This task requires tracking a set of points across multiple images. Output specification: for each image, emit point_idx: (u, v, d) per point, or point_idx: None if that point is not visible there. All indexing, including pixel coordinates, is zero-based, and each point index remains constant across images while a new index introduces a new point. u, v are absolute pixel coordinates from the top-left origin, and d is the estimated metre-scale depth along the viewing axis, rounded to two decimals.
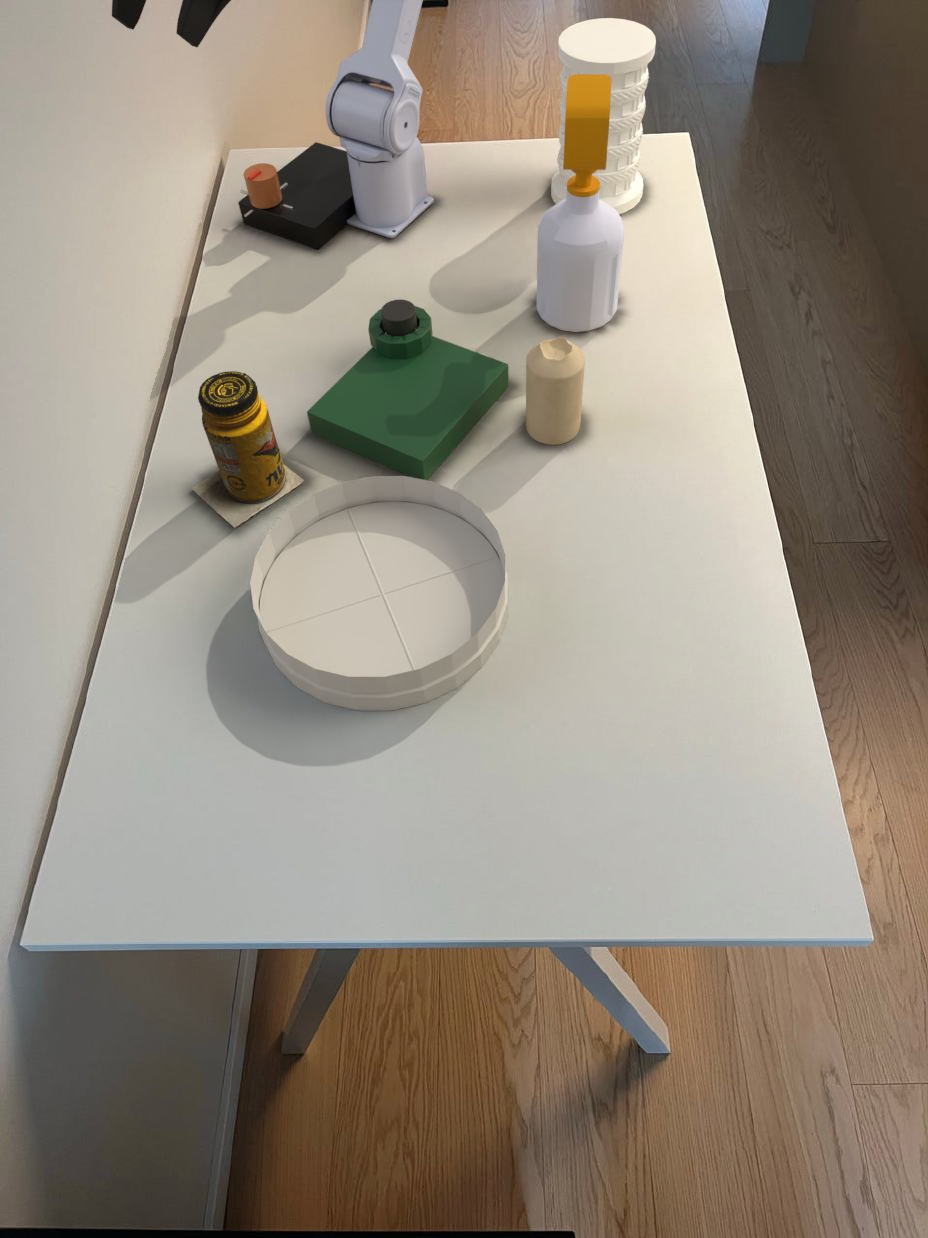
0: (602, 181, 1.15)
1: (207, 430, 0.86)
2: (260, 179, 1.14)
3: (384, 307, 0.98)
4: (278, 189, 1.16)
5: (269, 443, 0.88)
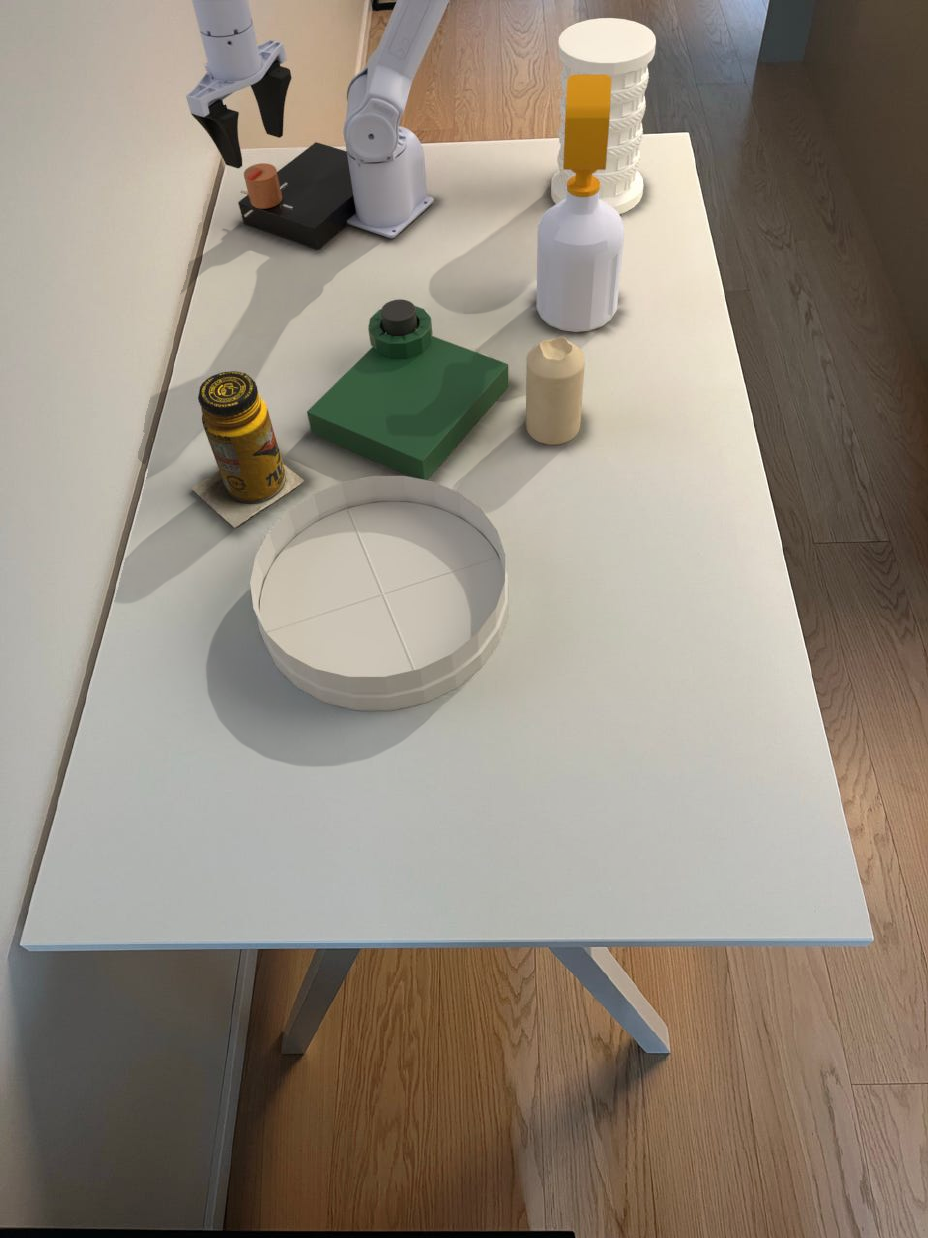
0: (602, 181, 1.15)
1: (207, 430, 0.86)
2: (260, 179, 1.14)
3: (384, 307, 0.98)
4: (278, 189, 1.16)
5: (269, 443, 0.88)
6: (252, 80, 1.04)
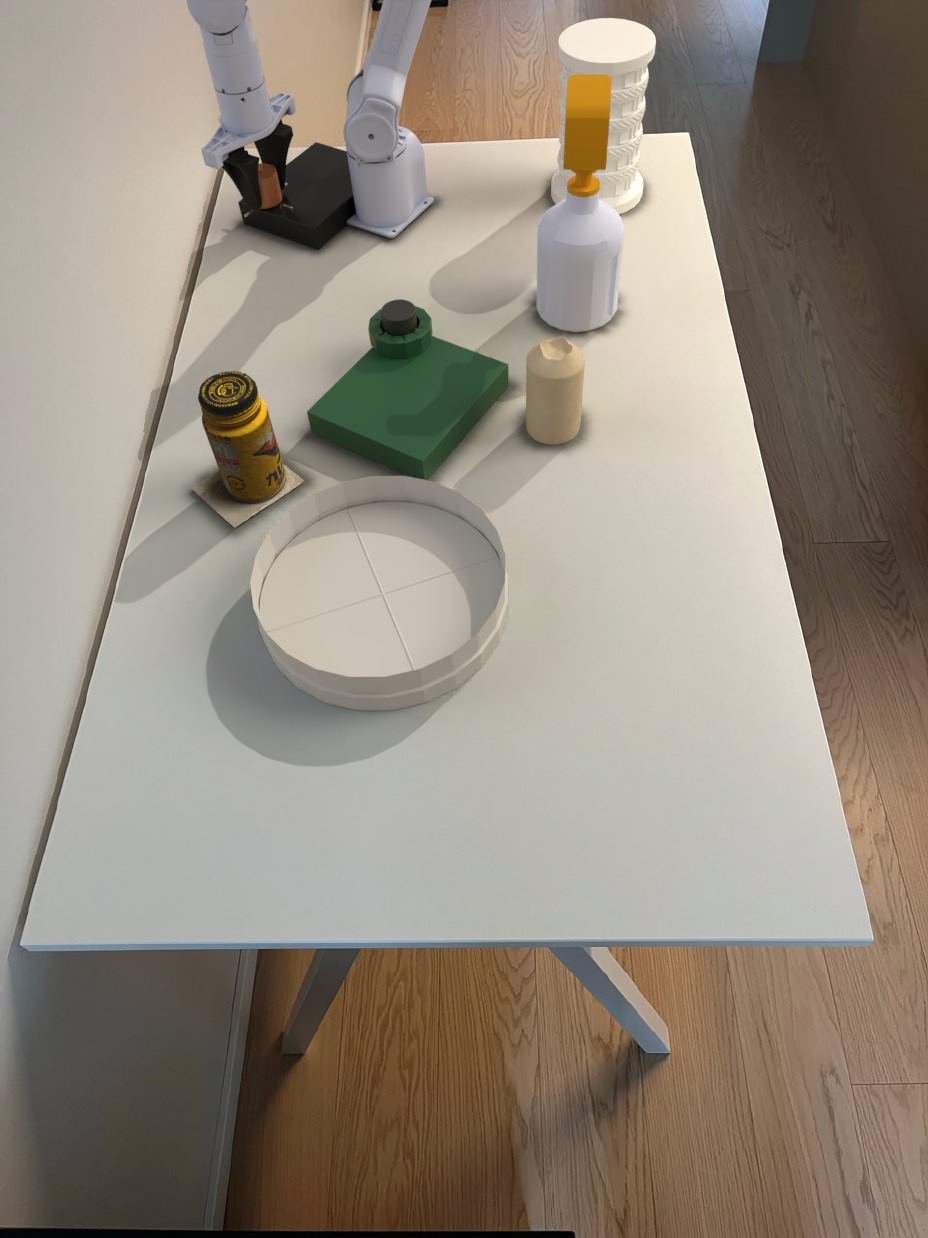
0: (602, 181, 1.15)
1: (207, 430, 0.86)
2: (260, 179, 1.14)
3: (384, 307, 0.98)
4: (278, 189, 1.16)
5: (269, 443, 0.88)
6: (264, 133, 1.09)
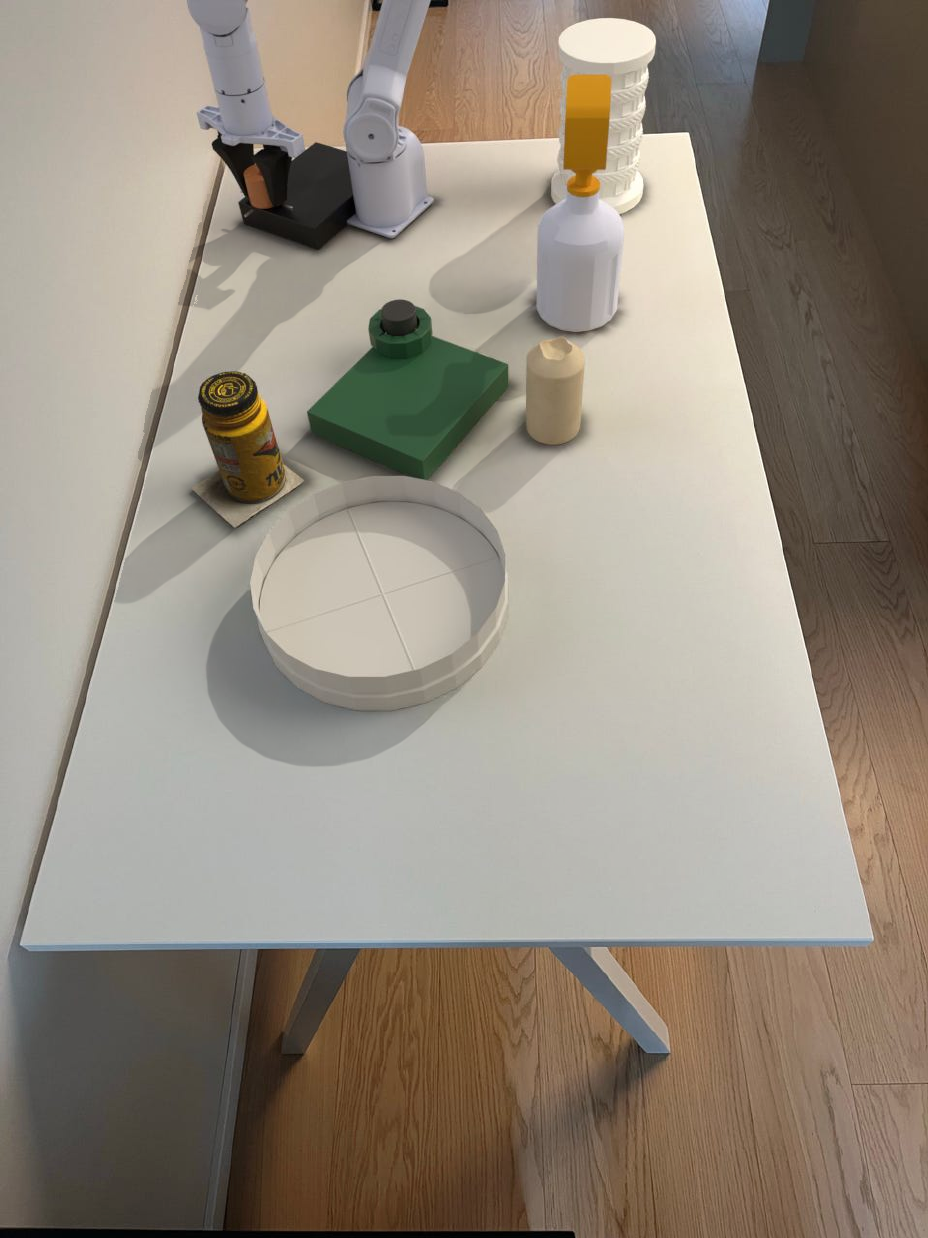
0: (602, 181, 1.15)
1: (207, 430, 0.86)
2: None
3: (384, 307, 0.98)
4: None
5: (269, 443, 0.88)
6: None
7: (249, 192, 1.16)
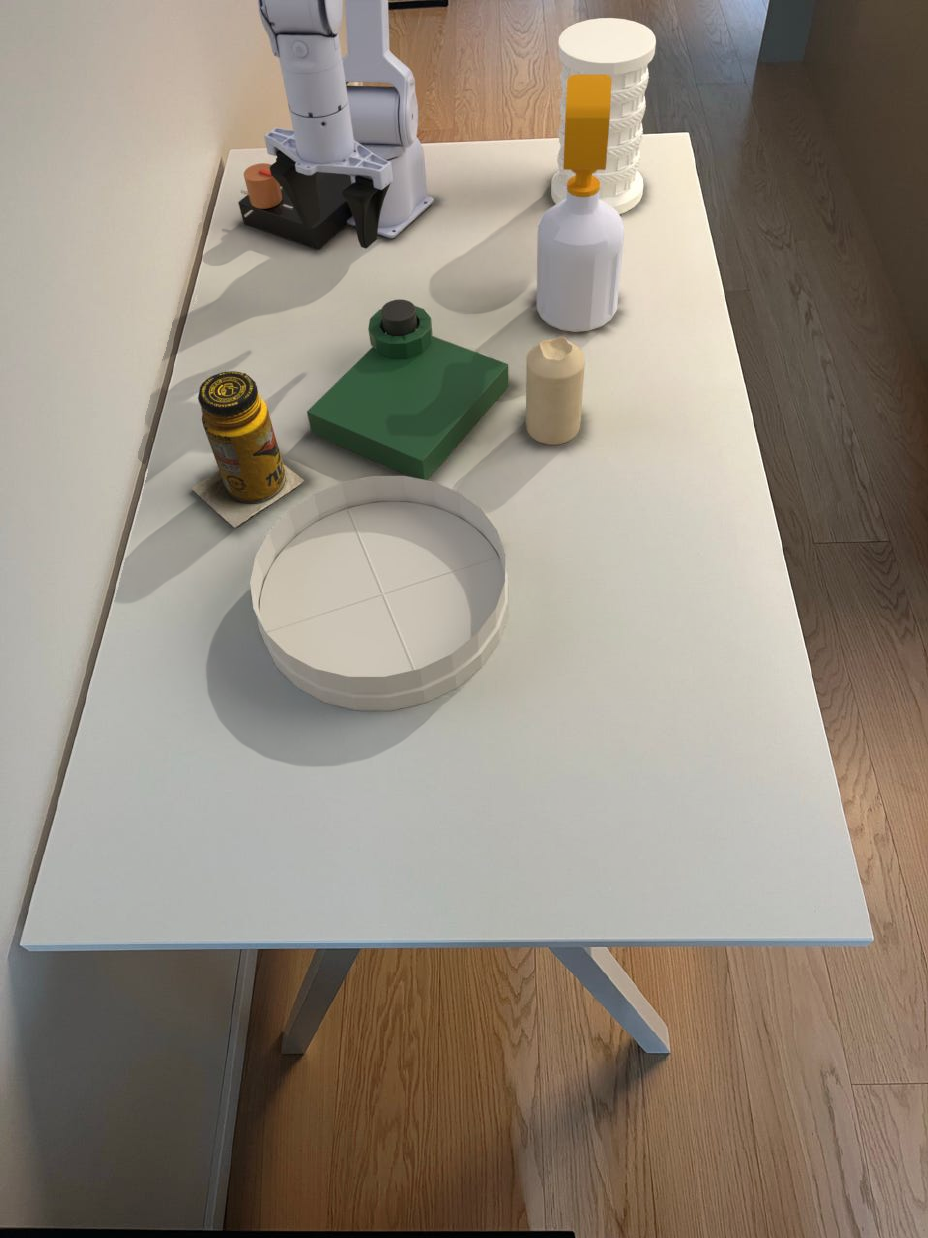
0: (602, 181, 1.15)
1: (207, 430, 0.86)
2: None
3: (384, 307, 0.98)
4: None
5: (269, 443, 0.88)
6: None
7: (249, 192, 1.16)
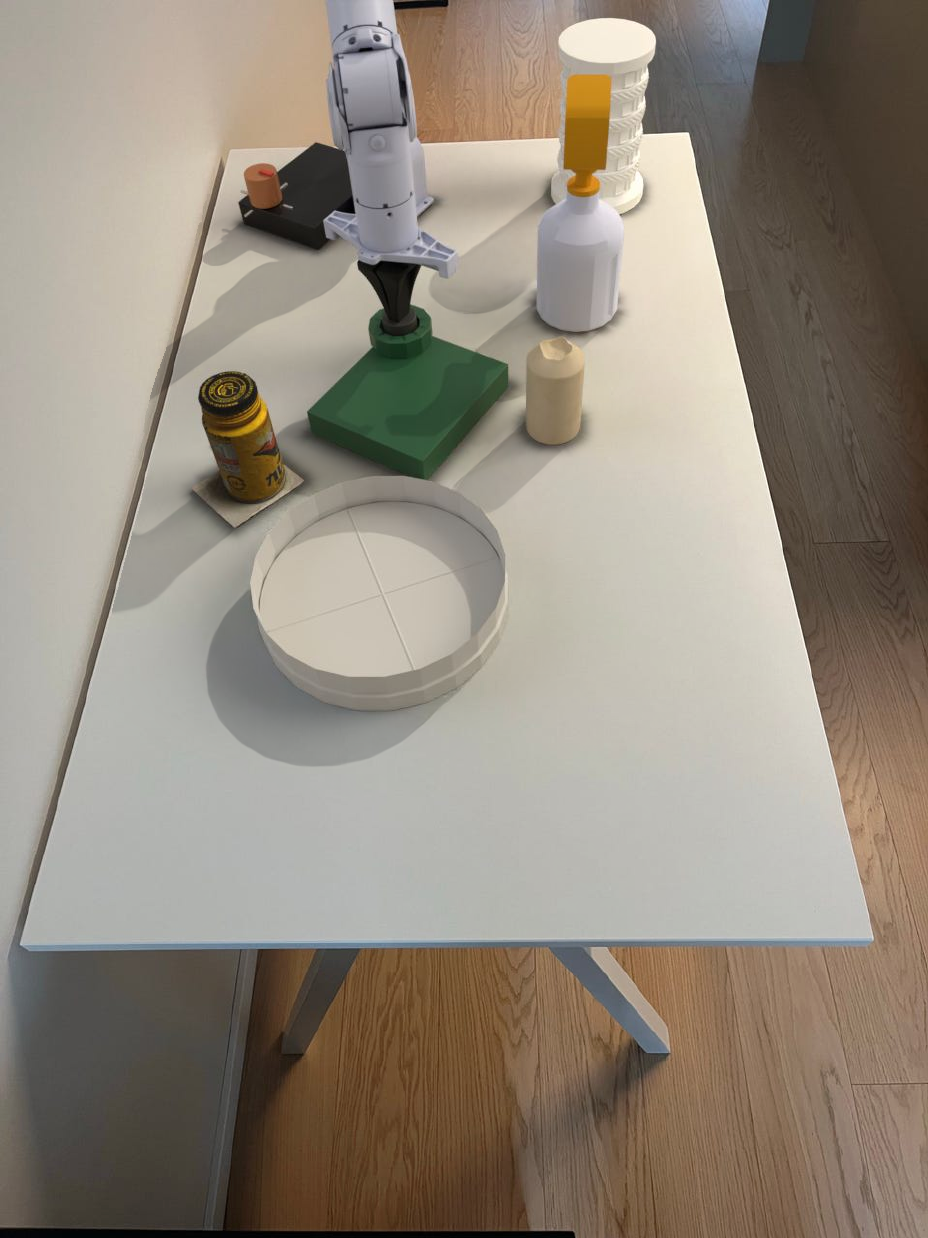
0: (602, 181, 1.15)
1: (207, 430, 0.86)
2: (273, 170, 1.15)
3: (385, 312, 0.99)
4: None
5: (269, 443, 0.88)
6: None
7: (249, 192, 1.16)
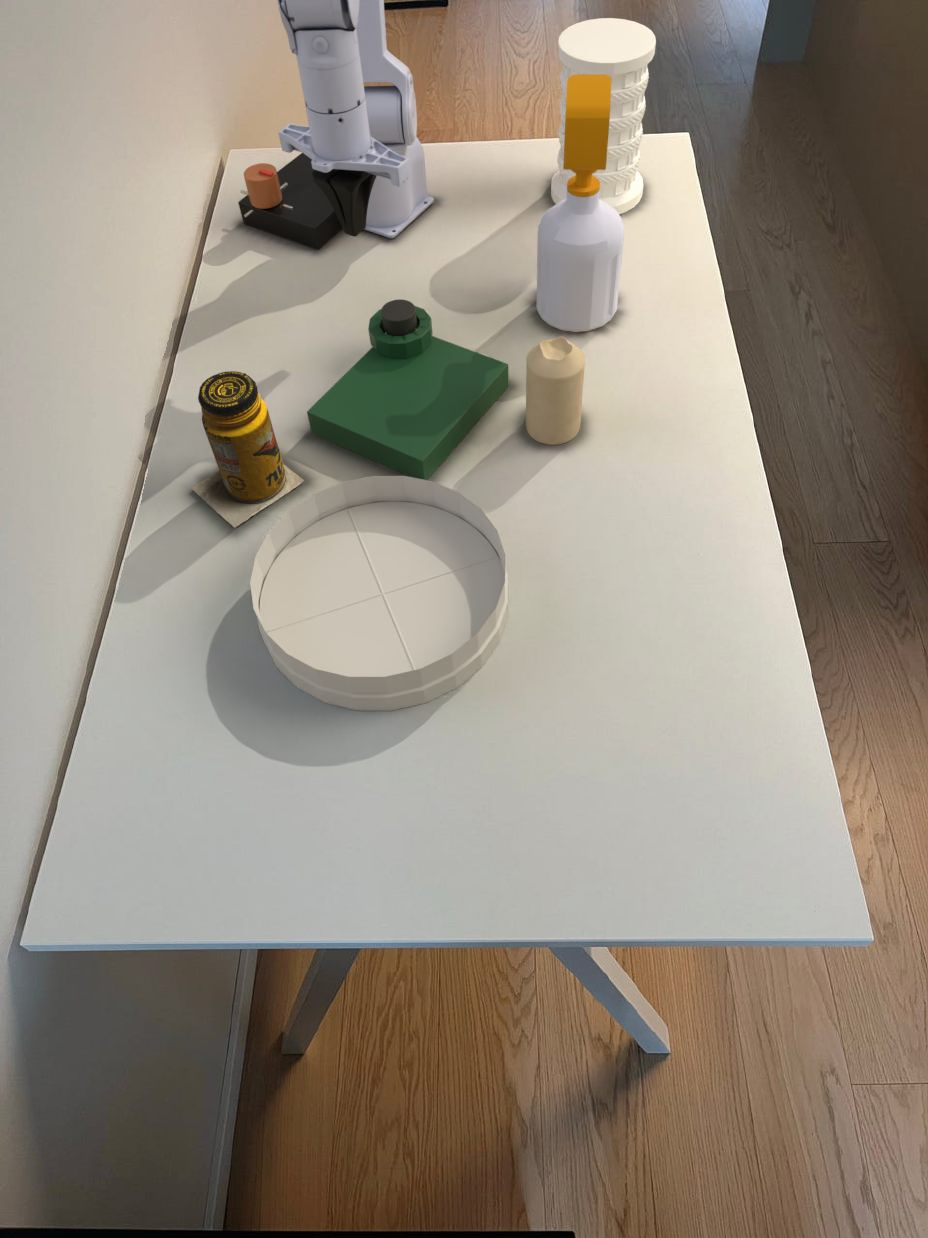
0: (602, 181, 1.15)
1: (207, 430, 0.86)
2: (273, 170, 1.15)
3: (384, 307, 0.98)
4: None
5: (269, 443, 0.88)
6: None
7: (249, 192, 1.16)
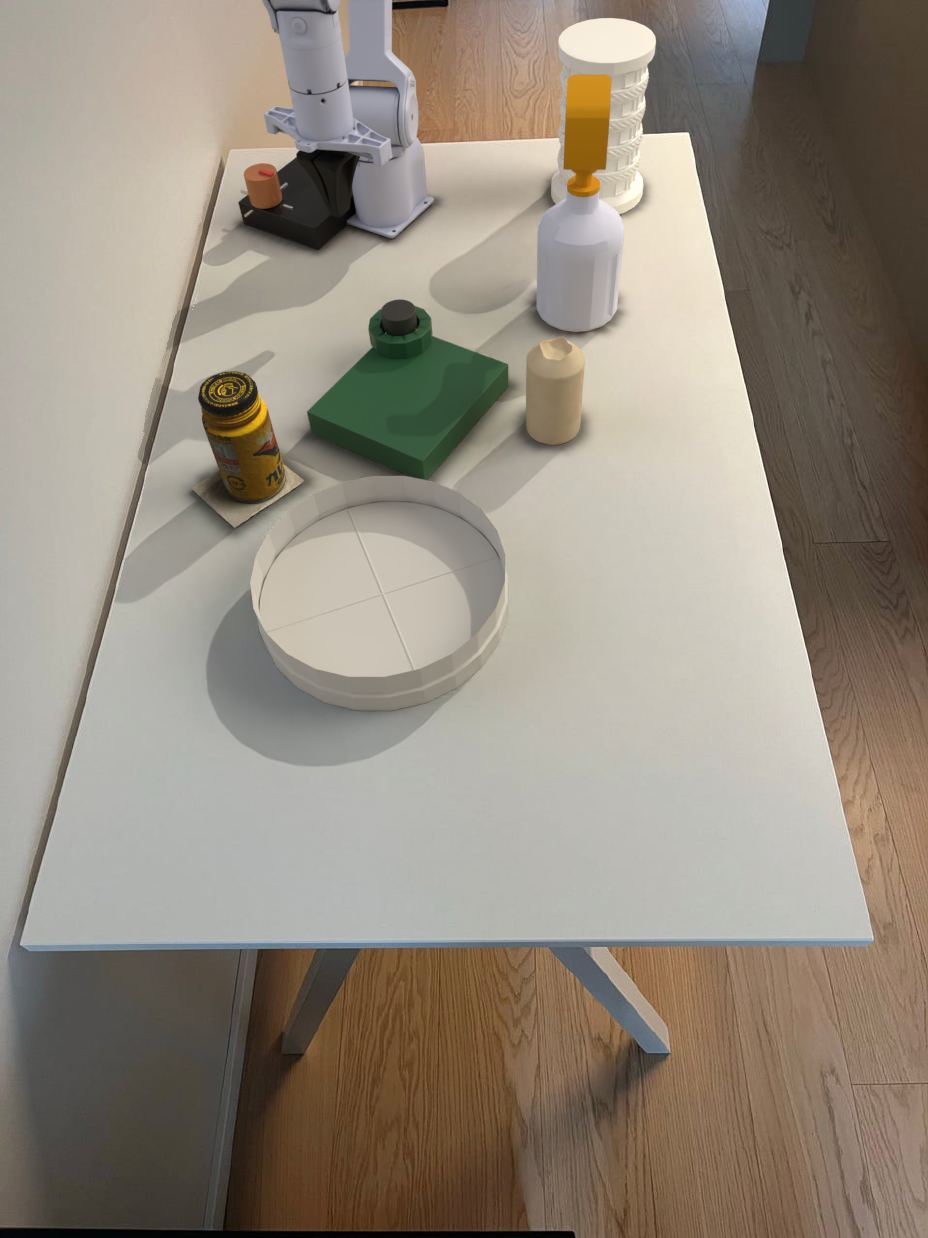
0: (602, 181, 1.15)
1: (207, 430, 0.86)
2: (273, 170, 1.15)
3: (384, 307, 0.98)
4: None
5: (269, 443, 0.88)
6: None
7: (249, 192, 1.16)
